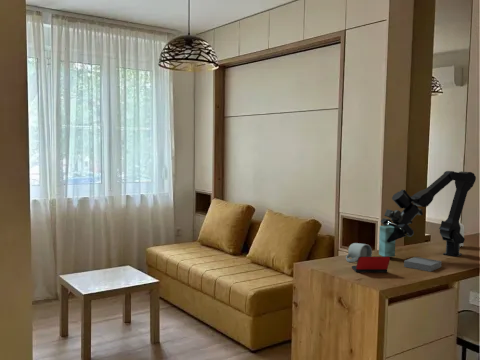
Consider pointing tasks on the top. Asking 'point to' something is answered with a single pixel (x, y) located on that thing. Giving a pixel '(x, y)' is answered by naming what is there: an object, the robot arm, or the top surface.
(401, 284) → the top surface
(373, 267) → the handheld game console
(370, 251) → the ceramic mug
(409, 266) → the gray square slab
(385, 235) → the teal block
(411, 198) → the robot arm
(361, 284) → the top surface
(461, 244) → the photo printer
